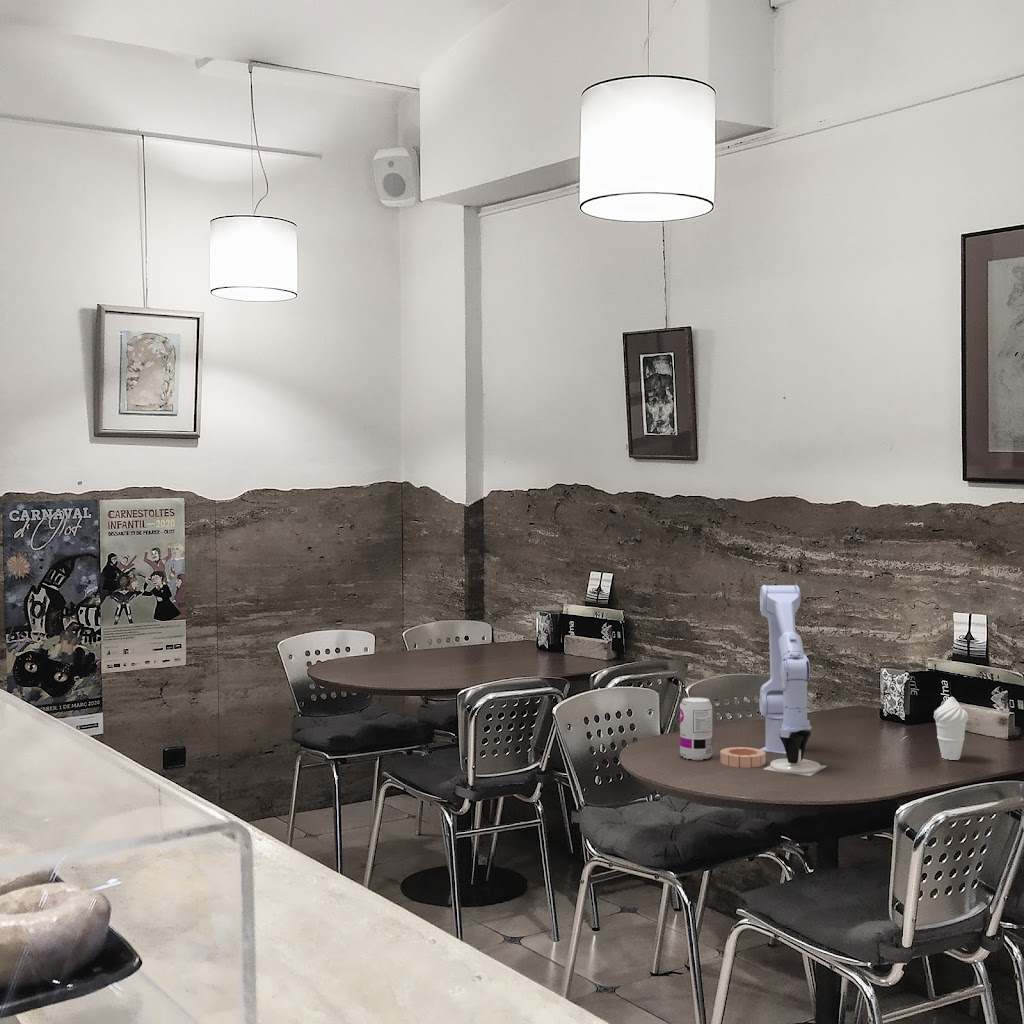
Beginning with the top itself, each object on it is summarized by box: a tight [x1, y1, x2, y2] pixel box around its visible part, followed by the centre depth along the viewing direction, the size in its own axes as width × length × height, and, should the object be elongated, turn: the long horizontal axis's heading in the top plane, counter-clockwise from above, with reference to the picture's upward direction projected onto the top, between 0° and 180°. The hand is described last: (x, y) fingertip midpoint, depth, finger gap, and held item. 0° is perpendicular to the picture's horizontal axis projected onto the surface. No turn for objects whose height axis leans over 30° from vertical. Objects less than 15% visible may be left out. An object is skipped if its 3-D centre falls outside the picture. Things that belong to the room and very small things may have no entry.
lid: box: [769, 749, 821, 774], centre depth 287 cm, size 12×12×4 cm
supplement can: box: [679, 696, 713, 761], centre depth 300 cm, size 8×8×15 cm
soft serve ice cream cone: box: [933, 696, 969, 761], centre depth 296 cm, size 8×8×16 cm
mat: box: [763, 764, 828, 777], centre depth 287 cm, size 12×12×1 cm
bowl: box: [719, 746, 767, 769], centre depth 293 cm, size 11×11×3 cm
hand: (795, 761), depth 287 cm, fingers closed on lid, 3 cm apart
